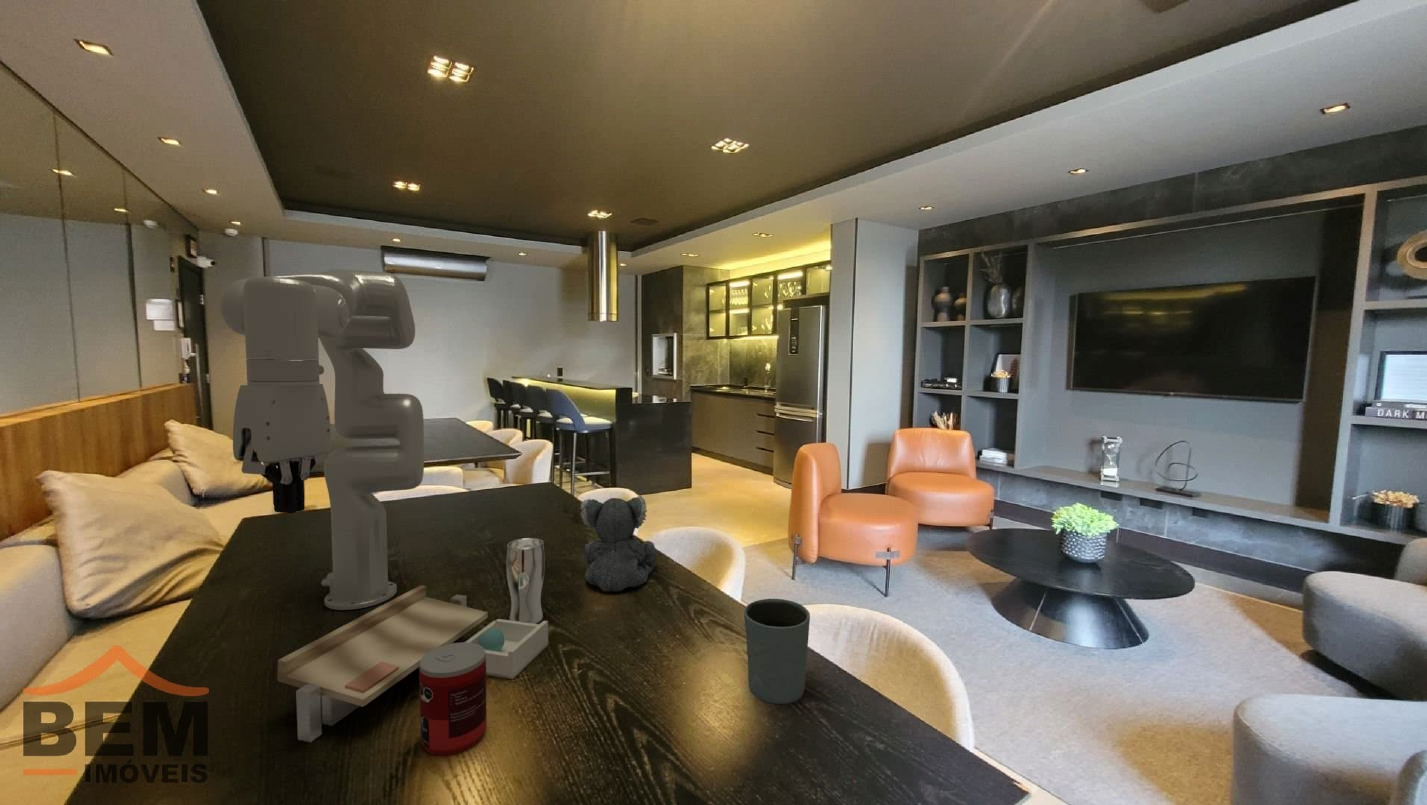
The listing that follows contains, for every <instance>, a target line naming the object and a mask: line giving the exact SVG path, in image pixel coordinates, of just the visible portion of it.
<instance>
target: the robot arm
mask: <svg viewBox="0 0 1427 805" xmlns="http://www.w3.org/2000/svg"><path fill="white" fill-rule="evenodd" d="M220 313H221V316H222V319H223V321H224V323H225V324H226V326H228V328H229V329H231V330H232V331H233V332H235V333H237V334H239V335H242V336H244V341H245V342H244V343H245V360H246V361H245V363H246V365H245V366H246V380H247V381H246V382H247V383H246V384H240V386H239V388H238V391H237V392H238V393H237V394H236V396H237V397H236V401H235V405H234V411H233V412H234V414H233V425H232V427H233V428H232V452H233V457H234V459H235V460H236V461H238V462H242V465H241V472H242V474H250V475H260V476H261V477H263V478H265V479H266V482H267V483H268V484H271V485H272V504H273V511H274V512H276V513H280V514H281V513H282V514H294V513H297V512H302V511H304V510H305V507H306V506H305V505H306V504H305V499H306V498H305V481H307V480H308V479H309V477H310V472H311V471H312V470H313V468H314V467H315V466H316V465H319V464H321V463H323V473H324V474H323V475H324V480H325V483H326V484H325V485H326V489H327V491H328V492H327V494H328V499H329V505H330V506H329V508H330V518H331V520H330V522H331V548H332V549H331V550H332V551H331V552H332V554H331V555H332V572H329V573H328V574H327V575H326V578H323V579H322V581H321V582H320V585H321V586H324V587H329V593H328V594H326V596H324V606H325V607H327V608H328V609H331V610H336V611H351V610H358V609H363V608H368V607H373V606H375V605H378V604H381V603H383V602H386V601H387V600H390V599H391V598H393V597H394V596H395V594H397V589H398V588H397V587H398V586H397V584H396V583H395V582H392V581H389V575H388V574H389V573H388V572H389V571H388V537H387V536H388V535H387V532H388V531H387V530H388V529H387V511H386V509H385V506H384V505H383V503H382V502H381V501H380V500H379V499H378V498H377V497H376V496H375V495H374V494H375V493H379V492H394V491H395V492H397V491H406V490H409V491H410V490H412V489H413V490H414V489H415V488H417V487H419V486H420V485H421V484H422V481H423V479H424V470H425V458H424V457H425V456H424V455H425V448H424V446H425V445H424V444H425V443H424V442H425V438H424V437H425V436H424V434H425V432H424V431H425V430H424V426H425V424H424V412H423V405H422V402H421V401H420V400H419V398H418V397H417V396H415V395H412V394H409V393H385V392H384V371H383V368H382V366H381V365H380V364H379V363H378V361H377V360H376V359H375V358H374V357H373V356H372V355H371V354H370V353H368V352H367V351H366V349H378V350H381V349H382V350H384V349H385V350H403V349H406V348H409V347H411V345H412V344H413V343H414V340H415V337H416V325H415V319H414V315H413V311H412V307H411V301H410V298H409V295H408V292H407V289H406V287H405V285H404V283H403V282H402V280H401V279H400V278H399V277H398V276H397V275H395V274H394V273H390V272H385V271H374V270H373V271H371V270H355V269H343V268H342V269H341V268H340V269H339V268H337V269H330V270H325V271H322V272H319V273H307V274H306V273H303V274H293V275H292V274H291V275H275V276H273V275H271V276H255V277H247V278H242V279H239V280H238V279H237V280H235V281H233V282H231V283H230V284H229V285H228V286H226V288H225V290H224V291H223V293H222V296H221V299H220ZM319 341H320V344H321V345H322V347H323V349H324V351H325V353H326V354H327V357H328V358H329V360H330V362H331V364H332V368H333V371H334V384H335V385H334V410H333V411H334V414H333V415H334V416H333V417H334V418H333V419H334V427H335V428H334V429H335V431H336V433H337V435H338V436H340V437H341V438H343V439H348V440H381V439H382V440H386V439H387V440H388V439H390V440H391V439H392V440H393V439H394V440H397V441H398V442H399V444H387V445H385V444H384V445H383V444H382V445H377V444H375V445H352V446H345V447H341V448H340V447H339V448H338V449H335V450H333V451H332V452H330V453H329V454H328V451H329V450H330V448H331V445H332V428H331V418H330V417H331V416H330V410H329V405H328V404H329V403H328V399H327V395H326V390H325V387H324V384H323V383H320V375H323V374H324V372H325V368H324V366H323V365H322V364H320V361H319V360H320V358H319V357H320V356H319V355H320V353H319V352H320V351H319ZM262 463H263V464H262ZM373 493H374V494H373Z"/></svg>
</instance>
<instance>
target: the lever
mask: <svg viewBox="0 0 1427 805" xmlns="http://www.w3.org/2000/svg"><path fill="white" fill-rule="evenodd" d="M488 614H489V612H488V611H484V610H480V609H476V608H472V607H469V606H466V607H464V606H460V605H456V604H452V603H451V602H447V601H443V600H439V599H435V598H432V597H428V596H427V586H426V585H421V584H420V585H419V586H417V587H415V588H413V589H411V590H409V591H407V592H405V593H403V594H401V595H400V596H399V595H398V596H397V597H396V598H393V599H392V600H390V601H388V602H386V603H384V604H383V605H380V606H378V607H376V608H375V609H373V610H371V611H369V612H367V613H365V614H363V615H361V616H359V617H358V618H355V619H353V620H352V621H350V622H348V623H346V624H344V625H342V626H340V627H338V628H336V629H335V630H333V631H331V632H329V633H327V634H325V635H323V636H322V637H318V639H315V640H313V641H312V642H310V643H308V644H306V645H304V646H302V647H300V648H299V649H296V650H294V651H293V652H291V653H289V654H287V655H285V656H283V657H282V658H279V659H278V661H277V677H276V678H277V679H276V680H277V682H278V683H279V682H280V683H283V684H287V685H290V686H293V687H296V688H299V689H300V688H302V687H304V686H305V685H307V684H311V685H316V686H320V697H321V698H322V696H323V695H325V696H329V697H332V698H335V699H339V700H342V701H345V702H348V703H352V704H355V705H358V706H359V707H362V708H363V707H364V706H367V705H368V704H369V703H370V702H372V701H373V700H375V699H376V698H377V697H379V696H380V695H381V694H383V693H384V692H386V691H387V690H388V689H390V688H391V687H393V686H395V685H396V684H397V683H399V682H400V681H402V680H403V679H405V678H406V677H407V676H408V675H409V674H411V673H412V672H414V671H415V670H417V669H419V666H420V661H421V659H422V657H423V656H424V655H425V654H427V653H428V652H430V651H431V650H434V649H436V648H438V647H441V646H444V645H448V644H452V643H455V641H457V640H459V638H461V637H463V636H464V635H465V634H467V633H468V632H470V631H471V630H472V629H474V628H476V626H478V625H479V624H481V623H482V622H483V621H485V620H486V619H488V617H489V616H488Z"/></svg>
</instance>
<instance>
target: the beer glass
mask: <svg viewBox="0 0 1427 805" xmlns="http://www.w3.org/2000/svg"><path fill="white" fill-rule="evenodd" d="M506 547H507V549H506V558H505V559H506V564H505V566H506V569H505V570H506V579H507V584H508V585H507V586H508V589H509V594H510V599H511V608H510V613H509V619H508V620H510V621H517V622H525V623H532V624H540V623H541V621H542V620H543V618H544V615H543V610H542V604H541V603H542V602H541V599H542V596H541V595H542V589H543V584H544V577H545V566H546V561H545V559H546V557H545V556H546V555H545V547H544V541H543V539H541V538H536V537H522V538H518V539H514V540H512V541H511V540H510V542H508V543H507V545H506Z"/></svg>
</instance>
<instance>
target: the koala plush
mask: <svg viewBox="0 0 1427 805" xmlns="http://www.w3.org/2000/svg"><path fill="white" fill-rule="evenodd" d="M579 509H580V510H581V513H580V516H581V520H582V521H583V524H584V525H586V526H587V527H588V528H591V529H592V528H594V530H595V534H596V535H597V538H598V539H599V540H595V541H594V540H591V541H588V543H585V545H584V550H583V551H584V557H585V563H586V564H585V565H586V571H585V573H584V579H585V580H586V582H587V583H589V585H594V586H597V587H599V588H600V590H602V592H609V593H610V592H612V593H613V592H622V591H623V590H624V589H627V588H636V587H639V586H641V585H642V584H645V582H647V580H648V576H649V575H650V574H651V573H652V571H653V570H654V569H655V566H656V563H657V558H658V554H657V551H656V550H657V549H656V547H655V543H654V542H653V541H650V540H645V541H644V542H643V543H641V540H638V538H637V537H636V536H633V535H634V533H635V530H636V529H637V530H638V529H640V527H641V526H642V525H643V524H645V522H644V521H646V520H647V519H646V518H647V517H648V516H647V515H646V514H647V512H648V510H647V503H646V500H645V498H644V497H642V495H637V496H635V497H632V498H631V499H629V500H625V499H622V498H619V497H612V498H609V499H607V500H606V501H604V502H601V501H598V500H597V499H593V498H592V499H591V498H588V499H585V500H583V501H582V502H581V504H580V508H579Z"/></svg>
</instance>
